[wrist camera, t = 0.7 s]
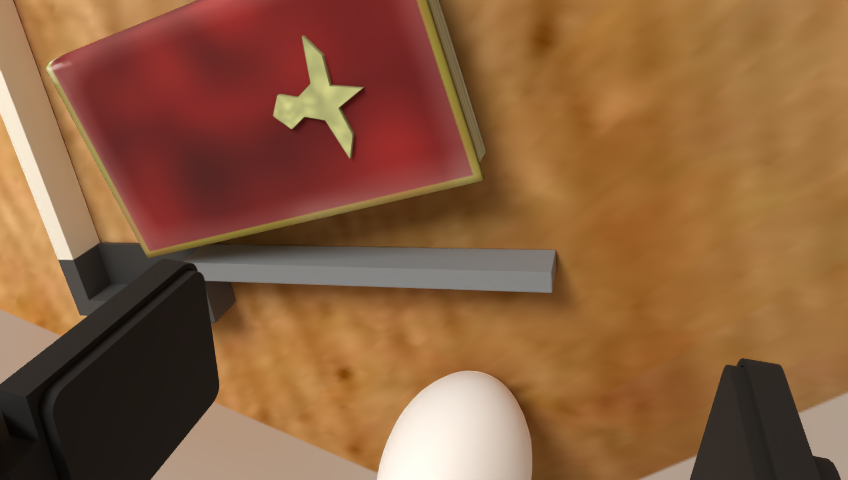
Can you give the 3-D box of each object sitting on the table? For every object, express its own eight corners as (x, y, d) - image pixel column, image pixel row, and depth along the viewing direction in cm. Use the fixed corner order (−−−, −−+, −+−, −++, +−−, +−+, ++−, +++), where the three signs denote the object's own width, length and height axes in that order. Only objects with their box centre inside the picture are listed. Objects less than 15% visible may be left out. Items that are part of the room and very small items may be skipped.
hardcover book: (92, 46, 38) (36, 61, 35) (423, -87, 31) (396, -85, 27) (185, 229, 43) (144, 260, 39) (496, 153, 35) (482, 182, 31)
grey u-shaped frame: (539, -247, 26) (531, -260, 24) (557, 316, 38) (553, 341, 36) (-54, -133, 35) (-97, -135, 33) (105, 295, 46) (80, 315, 44)
